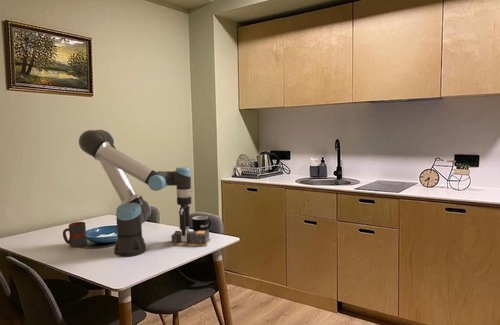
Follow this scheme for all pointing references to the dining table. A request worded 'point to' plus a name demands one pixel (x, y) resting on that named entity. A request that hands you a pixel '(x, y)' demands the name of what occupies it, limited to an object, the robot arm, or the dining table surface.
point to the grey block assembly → (192, 240)
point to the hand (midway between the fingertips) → (185, 239)
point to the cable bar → (188, 235)
